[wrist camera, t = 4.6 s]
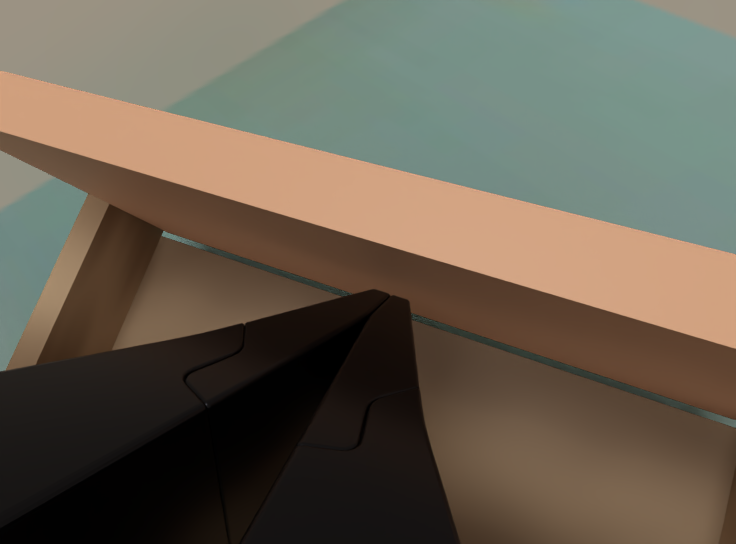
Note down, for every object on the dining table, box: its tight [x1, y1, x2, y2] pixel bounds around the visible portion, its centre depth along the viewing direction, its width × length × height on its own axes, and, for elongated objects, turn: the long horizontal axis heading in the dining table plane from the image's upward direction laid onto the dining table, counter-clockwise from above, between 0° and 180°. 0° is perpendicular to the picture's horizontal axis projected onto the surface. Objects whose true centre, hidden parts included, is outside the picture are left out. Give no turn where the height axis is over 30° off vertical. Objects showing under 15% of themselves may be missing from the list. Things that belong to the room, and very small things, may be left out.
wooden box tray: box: [6, 193, 736, 544], centre depth 14 cm, size 16×23×9 cm
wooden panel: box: [0, 71, 736, 420], centre depth 11 cm, size 1×20×9 cm, turn 71°
